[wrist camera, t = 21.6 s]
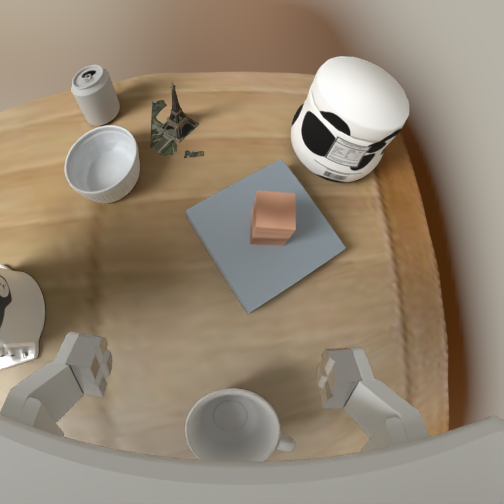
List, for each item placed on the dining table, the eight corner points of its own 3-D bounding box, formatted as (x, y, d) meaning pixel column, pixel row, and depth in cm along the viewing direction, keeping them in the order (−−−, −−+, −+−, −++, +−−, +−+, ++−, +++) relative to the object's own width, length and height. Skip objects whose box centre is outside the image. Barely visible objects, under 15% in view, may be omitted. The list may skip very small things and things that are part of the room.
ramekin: (66, 194, 50) (50, 177, 43) (103, 137, 54) (92, 116, 47) (121, 221, 50) (108, 206, 43) (158, 158, 53) (152, 137, 47)
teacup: (269, 460, 43) (281, 486, 33) (181, 432, 43) (172, 455, 33) (296, 395, 46) (314, 410, 36) (206, 365, 46) (203, 374, 36)
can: (121, 97, 56) (108, 57, 45) (120, 123, 55) (104, 83, 43) (89, 105, 55) (71, 67, 44) (86, 132, 53) (65, 95, 42)
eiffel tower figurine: (152, 102, 57) (141, 56, 44) (201, 96, 58) (199, 49, 45) (150, 163, 54) (134, 120, 41) (205, 157, 55) (203, 111, 42)
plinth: (247, 314, 48) (249, 312, 45) (187, 219, 51) (185, 210, 47) (337, 254, 52) (345, 248, 48) (277, 170, 55) (281, 158, 51)
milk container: (340, 106, 61) (371, 47, 43) (386, 172, 58) (434, 122, 40) (270, 127, 57) (288, 59, 40) (317, 202, 54) (357, 149, 37)
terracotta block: (283, 246, 47) (295, 229, 40) (249, 244, 47) (256, 227, 39) (283, 214, 49) (295, 193, 41) (251, 212, 48) (257, 190, 40)
